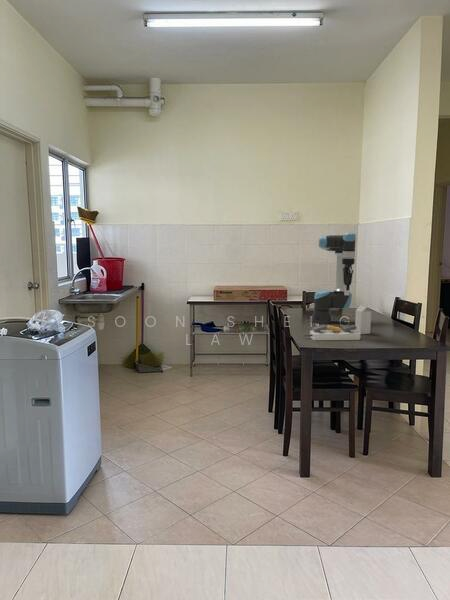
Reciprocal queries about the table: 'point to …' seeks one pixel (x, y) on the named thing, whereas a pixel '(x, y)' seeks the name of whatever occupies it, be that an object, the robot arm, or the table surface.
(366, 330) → the milk carton
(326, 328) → the rocker
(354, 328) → the rocker
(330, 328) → the rocker mid
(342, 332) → the power strip
